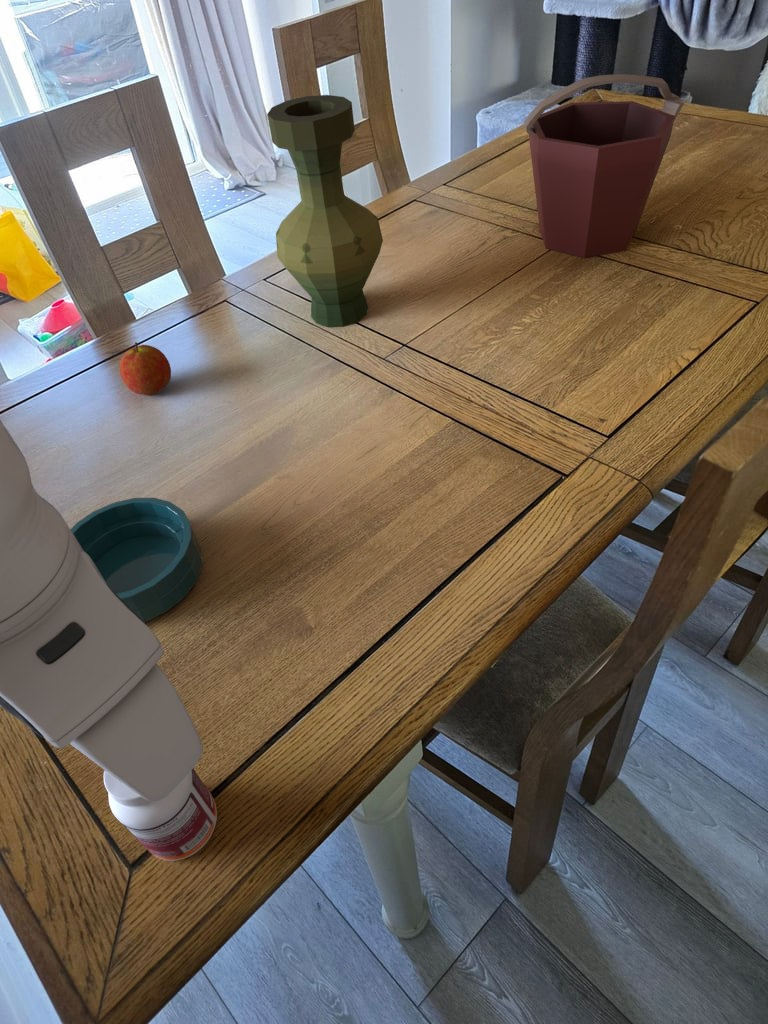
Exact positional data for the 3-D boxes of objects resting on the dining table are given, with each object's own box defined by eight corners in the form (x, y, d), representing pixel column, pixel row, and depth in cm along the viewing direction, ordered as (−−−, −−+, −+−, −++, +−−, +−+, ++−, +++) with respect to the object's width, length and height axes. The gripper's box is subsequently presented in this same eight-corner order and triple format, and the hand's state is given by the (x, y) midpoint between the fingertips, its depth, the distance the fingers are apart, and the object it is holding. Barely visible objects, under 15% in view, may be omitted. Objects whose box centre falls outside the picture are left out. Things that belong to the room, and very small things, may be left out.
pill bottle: (154, 787, 60) (106, 726, 52) (224, 785, 59) (187, 723, 52) (135, 865, 55) (80, 811, 48) (211, 863, 55) (168, 808, 47)
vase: (327, 350, 106) (291, 138, 84) (271, 314, 115) (226, 114, 94) (409, 309, 112) (395, 102, 91) (350, 277, 121) (324, 82, 100)
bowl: (152, 647, 70) (135, 618, 67) (43, 609, 75) (21, 580, 71) (228, 544, 79) (216, 513, 76) (126, 516, 84) (111, 486, 80)
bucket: (658, 211, 129) (688, 54, 111) (662, 268, 114) (698, 97, 96) (524, 210, 134) (532, 60, 116) (512, 264, 120) (519, 102, 102)
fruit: (165, 406, 99) (146, 358, 94) (121, 403, 101) (100, 356, 95) (184, 378, 104) (167, 330, 98) (142, 375, 105) (123, 329, 100)
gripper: (-141, 555, 39) (-16, 681, 49) (66, 758, 29) (170, 863, 39) (-39, 489, 42) (59, 619, 52) (179, 651, 33) (249, 774, 42)
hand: (108, 725), depth 46 cm, fingers open, 8 cm apart
